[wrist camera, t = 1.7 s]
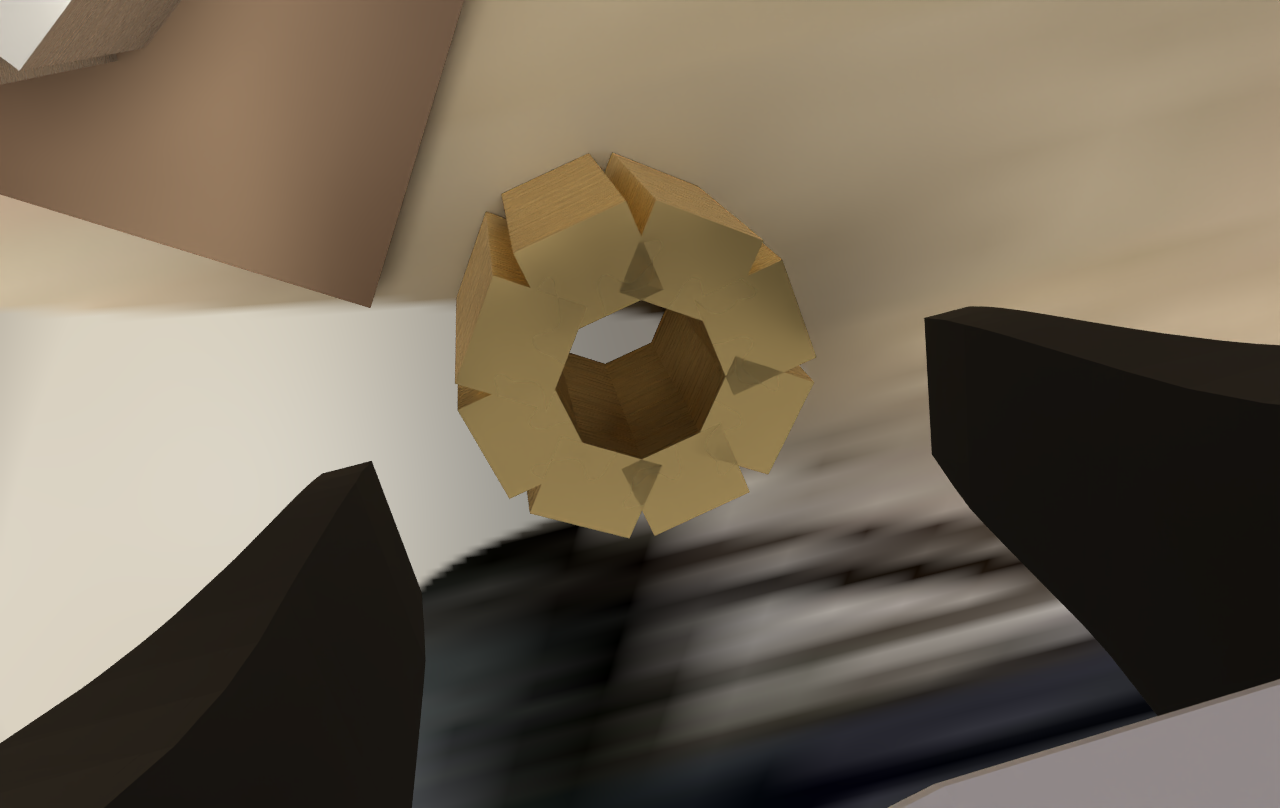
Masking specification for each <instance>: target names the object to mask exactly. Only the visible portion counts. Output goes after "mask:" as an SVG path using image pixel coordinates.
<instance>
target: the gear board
mask: <svg viewBox="0 0 1280 808" xmlns="http://www.w3.org/2000/svg"><path fill="white" fill-rule="evenodd" d="M463 2H464V0H181V1H180V3H179V4H178V5H177V6H176V8H175V9H174V10H173V12H172V13H171V14H170V16H169V17H168V18H167V19H166V21H165V22H164V23H163V25H162V26H161V27H160V29H159V30H158V31H157V32H156V34H155V35H154V36H153V38H152V39H151V40H150V42H149V43H148V44H147V46H146V47H145V48H143V49H137V50H132V51H126V52H121V53H116V56H117V60H118V61H114V62H109V63H104V64H99V65H94V66H89V67H84V68H79V69H75V70H70V71H65V72H60V73H55V74H50V75H45V76H40V77H35V78H30V79H25V80H20V81H16V82H11V83H6V84H1V85H0V194H1V195H4V196H8V197H11V198H14V199H17V200H21V201H24V202H27V203H30V204H34V205H37V206H40V207H43V208H47V209H50V210H53V211H56V212H60V213H63V214H66V215H69V216H73V217H76V218H79V219H82V220H86V221H89V222H92V223H95V224H99V225H102V226H105V227H108V228H112V229H115V230H118V231H121V232H125V233H128V234H131V235H134V236H138V237H141V238H144V239H147V240H151V241H154V242H157V243H160V244H164V245H167V246H170V247H173V248H177V249H180V250H183V251H186V252H190V253H193V254H196V255H199V256H203V257H206V258H209V259H212V260H216V261H219V262H222V263H225V264H229V265H232V266H235V267H238V268H242V269H245V270H248V271H251V272H255V273H258V274H261V275H264V276H268V277H271V278H274V279H277V280H281V281H284V282H287V283H290V284H294V285H297V286H300V287H304V288H307V289H310V290H313V291H317V292H320V293H323V294H326V295H330V296H333V297H336V298H339V299H343V300H346V301H349V302H352V303H356V304H359V305H362V306H365V307H369V308H371V304H372V301H373V298H374V295H375V291H376V288H377V285H378V281H379V278H380V275H381V272H382V268H383V265H384V262H385V258H386V255H387V252H388V249H389V245H390V242H391V239H392V235H393V232H394V229H395V226H396V222H397V219H398V216H399V212H400V209H401V206H402V203H403V199H404V196H405V193H406V189H407V186H408V183H409V180H410V176H411V173H412V170H413V166H414V163H415V160H416V157H417V153H418V150H419V147H420V143H421V140H422V137H423V134H424V130H425V127H426V124H427V120H428V117H429V114H430V111H431V107H432V104H433V101H434V97H435V94H436V91H437V88H438V84H439V81H440V78H441V74H442V71H443V68H444V65H445V61H446V58H447V55H448V51H449V48H450V45H451V42H452V38H453V35H454V32H455V28H456V25H457V22H458V19H459V15H460V12H461V9H462V5H463Z"/></svg>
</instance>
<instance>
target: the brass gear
mask: <svg viewBox="0 0 1280 808" xmlns="http://www.w3.org/2000/svg"><path fill="white" fill-rule="evenodd" d="M502 199H503V204H504V209H505V214H506V218H503V217H500V216H497V215H494V214H492V213H489V212H486V213H485V215H484V218H483V221H482V224H481V227H480V230H479V233H478V236H477V239H476V242H475V245H474V248H473V251H472V254H471V257H470V260H469V263H468V266H467V269H466V272H465V275H464V278H463V281H462V284H461V287H460V289H459V292H458V295H457V299H456V361H455V384H458V412H459V413H460V415H461V417H462V418H463V420H464V422H465V423H466V425H467V427H468V429H469V430H470V432H471V434H472V435H473V437H474V439H475V441H476V442H477V444H478V446H479V447H480V449H481V451H482V452H483V454H484V456H485V458H486V459H487V461H488V463H489V465H490V466H491V468H492V470H493V471H494V473H495V475H496V476H497V478H498V480H499V482H500V483H501V485H502V487H503V488H504V490H505V492H506V494H507V495H508V497H509V498H512V497H514V496H517V495H519V494H521V493H523V492H525V491H527V495H528V502H529V510H530V514H534V515H539V516H542V517H546V518H550V519H554V520H558V521H562V522H566V523H570V524H574V525H578V526H582V527H586V528H590V529H594V530H598V531H602V532H606V533H610V534H614V535H618V536H622V537H626V538H630V536H631V534H632V531H633V529H634V527H635V525H636V523H637V520H638V518H639V516H640V514H641V511H643V513H644V515H645V517H646V519H647V521H648V523H649V525H650V527H651V529H652V531H653V533H654V535H657V534H660V533H662V532H664V531H666V530H668V529H670V528H673V527H675V526H677V525H679V524H681V523H684V522H686V521H688V520H690V519H692V518H694V517H697V516H699V515H701V514H703V513H705V512H707V511H710V510H712V509H714V508H716V507H718V506H721V505H723V504H725V503H727V502H729V501H731V500H734V499H736V498H738V497H740V496H742V495H744V494H747V493H749V489H748V487H747V484H746V482H745V480H744V477H743V475H742V473H741V470H740V468H739V466H741V467H744V468H748V469H751V470H755V471H758V472H762V473H765V474H769V472H770V470H771V468H772V466H773V464H774V462H775V460H776V458H777V456H778V454H779V452H780V450H781V448H782V446H783V444H784V442H785V440H786V438H787V436H788V434H789V432H790V430H791V428H792V426H793V424H794V422H795V420H796V418H797V416H798V414H799V412H800V410H801V408H802V406H803V404H804V402H805V400H806V398H807V396H808V394H809V392H810V390H811V388H812V386H813V384H814V382H813V380H812V379H811V378H810V377H809V376H808V375H807V374H806V373H805V372H804V370H803V369H802V368H801V367H800V366H799V365H801V364H803V363H805V362H807V361H809V360H811V359H814V358H816V355H815V352H814V349H813V346H812V343H811V341H810V338H809V335H808V332H807V329H806V326H805V323H804V321H803V318H802V315H801V312H800V309H799V306H798V304H797V301H796V298H795V295H794V292H793V289H792V286H791V284H790V281H789V278H788V275H787V272H786V269H785V266H784V264H783V261H782V259H781V258H780V257H778V256H777V255H776V254H775V253H774V252H772V251H771V250H770V249H769V248H768V247H766V246H765V245H764V244H763V240H762V239H761V238H760V237H759V236H757V235H756V234H755V233H754V232H753V231H751V230H750V229H749V228H748V227H747V226H745V225H744V224H743V223H742V222H740V221H739V220H738V219H737V218H736V217H734V216H733V215H732V214H731V213H730V212H728V211H727V210H726V209H725V208H724V207H722V206H721V205H720V204H719V203H718V202H716V201H715V200H714V199H713V198H711V197H710V196H709V195H708V194H707V193H705V192H704V191H703V190H702V189H701V188H699V187H698V186H696V185H694V184H691V183H688V182H686V181H683V180H681V179H678V178H676V177H673V176H671V175H668V174H666V173H663V172H661V171H658V170H655V169H653V168H650V167H648V166H645V165H643V164H640V163H638V162H635V161H633V160H630V159H627V158H625V157H622V156H620V155H617V154H615V153H612V155H611V157H610V160H609V163H608V165H607V168H606V171H605V173H604V172H603V171H602V170H601V168H600V167H599V166H598V164H597V163H596V162H595V161H594V159H593V158H592V157H591V155H590V154H589V153H588V154H586V155H584V156H582V157H580V158H578V159H575V160H573V161H571V162H569V163H567V164H565V165H563V166H560V167H558V168H556V169H554V170H552V171H550V172H548V173H545V174H543V175H541V176H539V177H537V178H535V179H533V180H530V181H528V182H526V183H524V184H522V185H520V186H518V187H515V188H513V189H511V190H509V191H507V192H505V193H503V194H502ZM640 300H643V301H646V302H649V303H652V304H655V305H658V306H661V307H663V308H666V309H665V311H664V314H663V316H662V318H661V321H660V323H659V325H658V328H657V330H656V333H655V335H654V337H653V340H652V342H651V343H649V344H647V345H645V346H643V347H641V348H639V349H636V350H634V351H632V352H630V353H628V354H626V355H623V356H622V357H619V358H617V359H615V360H613V361H610V362H608V363H606V364H604V363H601V362H597V361H594V360H591V359H588V358H585V357H581V356H578V355H575V354H572V353H569V352H570V350H571V347H572V344H573V342H574V340H575V337H576V334H577V332H578V329H580V328H582V327H584V326H586V325H588V324H590V323H593V322H595V321H597V320H599V319H601V318H603V317H606V316H608V315H610V314H612V313H614V312H616V311H618V310H621V309H623V308H625V307H627V306H629V305H631V304H634V303H636V302H638V301H640Z"/></svg>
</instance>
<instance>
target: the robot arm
mask: <svg viewBox="0 0 1280 808" xmlns="http://www.w3.org/2000/svg"><path fill="white" fill-rule="evenodd" d="M924 320H925V338H926V356H927V374H928V392H929V410H930V428H931V446H932V455H933V457H934V458H935V459H936V461H937V462H938V464H939V465H940V467H941V468H942V470H943V471H944V473H945V474H946V476H947V477H948V479H949V480H950V482H951V483H952V485H953V486H954V487H955V489H956V490H957V491H958V493H959V494H960V495H961V497H962V498H963V499H964V501H965V502H966V504H967V505H968V506H969V508H970V509H971V510H972V511H973V512H974V513H975V514H976V515H977V517H978V518H979V519H980V520H981V521H982V522H983V523H984V524H985V525H986V526H987V527H988V528H989V529H990V530H991V531H992V532H993V533H994V534H995V535H996V536H997V538H998V539H999V540H1000V541H1001V542H1002V543H1003V544H1004V545H1005V546H1006V547H1007V548H1008V549H1009V550H1010V551H1011V552H1012V553H1013V554H1014V555H1015V556H1016V557H1017V558H1018V559H1019V560H1020V561H1021V562H1022V563H1023V564H1024V565H1025V566H1026V567H1027V568H1028V569H1029V570H1030V571H1031V572H1032V573H1033V574H1034V575H1035V576H1036V577H1037V579H1038V580H1039V581H1040V582H1041V583H1042V584H1043V585H1044V586H1045V587H1046V588H1047V589H1048V590H1049V591H1050V592H1051V593H1052V594H1053V595H1054V596H1055V597H1056V598H1057V599H1058V600H1059V601H1060V602H1061V603H1062V604H1063V605H1064V606H1065V607H1066V608H1067V609H1068V610H1069V611H1070V612H1071V613H1072V614H1073V615H1074V616H1075V617H1076V618H1077V619H1078V620H1079V621H1080V622H1081V623H1082V624H1083V625H1084V626H1085V628H1086V629H1087V630H1088V631H1089V632H1090V633H1091V634H1092V635H1093V637H1094V638H1095V639H1096V640H1097V641H1098V642H1099V643H1100V644H1101V645H1102V647H1103V648H1104V649H1105V650H1106V651H1107V652H1108V653H1109V655H1110V656H1111V657H1112V658H1113V660H1114V661H1115V662H1116V663H1117V665H1118V666H1119V667H1120V668H1121V670H1122V671H1123V672H1124V674H1125V675H1126V676H1127V677H1128V679H1129V680H1130V681H1131V683H1132V684H1133V685H1134V686H1135V688H1136V689H1137V690H1138V691H1139V693H1140V694H1141V695H1142V697H1143V698H1144V699H1145V700H1146V702H1147V703H1148V704H1149V705H1150V707H1151V708H1152V709H1153V711H1154V712H1155V713H1156V714H1157V717H1154V718H1151V719H1147V720H1144V721H1141V722H1137V723H1134V724H1131V725H1127V726H1124V727H1121V728H1118V729H1114V730H1111V731H1108V732H1104V733H1101V734H1098V735H1095V736H1091V737H1088V738H1085V739H1081V740H1078V741H1075V742H1072V743H1068V744H1065V745H1062V746H1058V747H1055V748H1052V749H1048V750H1045V751H1042V752H1039V753H1035V754H1032V755H1029V756H1025V757H1022V758H1019V759H1016V760H1012V761H1009V762H1006V763H1002V764H999V765H996V766H993V767H989V768H986V769H983V770H979V771H976V772H973V773H970V774H966V775H963V776H960V777H956V778H953V779H950V780H946V781H943V782H940V783H937V784H934V785H932V786H930V787H928V788H926V789H924V790H922V791H920V792H918V793H916V794H914V795H912V796H910V797H908V798H906V799H904V800H902V801H900V802H898V803H896V804H894V805H892V806H890V807H888V808H1280V345H1265V344H1251V343H1240V342H1230V341H1220V340H1212V339H1204V338H1196V337H1188V336H1180V335H1172V334H1164V333H1157V332H1150V331H1143V330H1137V329H1130V328H1124V327H1118V326H1111V325H1105V324H1099V323H1093V322H1087V321H1082V320H1076V319H1070V318H1064V317H1058V316H1052V315H1046V314H1040V313H1033V312H1027V311H1020V310H1012V309H1005V308H995V307H974V306H970V307H965V308H961V309H957V310H954V311H950V312H946V313H942V314H938V315H934V316H930V317H926V318H924ZM424 672H425V639H424V620H423V605H422V592H421V590H420V587H419V584H418V582H417V579H416V577H415V574H414V572H413V569H412V566H411V563H410V561H409V558H408V556H407V553H406V550H405V548H404V545H403V542H402V540H401V537H400V534H399V532H398V530H397V527H396V524H395V522H394V519H393V516H392V513H391V511H390V508H389V505H388V503H387V500H386V498H385V495H384V493H383V490H382V487H381V484H380V482H379V479H378V476H377V474H376V471H375V469H374V466H373V463H372V461H369V462H365V463H362V464H358V465H354V466H350V467H346V468H342V469H339V470H335V471H331V472H327V473H323V474H321V475H320V476H319V477H317V478H316V479H315V480H314V481H312V482H311V483H310V484H309V485H308V486H307V487H306V488H305V489H303V491H301V493H299V494H298V495H297V496H296V497H295V498H294V499H293V501H292V502H290V503H289V504H288V505H287V507H285V509H283V510H282V512H281V513H280V514H279V515H278V516H277V517H276V518H275V519H274V520H273V521H272V522H271V523H270V524H269V525H268V526H267V527H266V528H265V529H264V530H263V531H262V532H261V533H260V534H259V535H258V536H257V537H256V538H255V539H254V540H253V541H252V542H251V543H250V544H249V545H248V546H247V547H246V548H245V549H244V550H243V551H242V552H241V553H240V554H239V555H238V556H237V557H236V558H235V559H234V560H233V561H232V562H231V563H230V564H229V565H228V566H227V567H226V568H225V569H224V570H223V571H222V572H220V573H219V574H218V575H217V576H216V577H215V578H214V579H213V580H212V581H211V582H210V583H209V584H208V585H206V586H205V587H204V588H203V589H202V590H201V591H200V592H199V593H198V594H197V595H196V596H195V597H194V598H193V599H191V600H190V601H189V602H188V603H187V604H186V605H185V606H184V607H183V608H182V609H181V610H180V611H178V612H177V613H176V614H175V615H174V616H173V617H172V618H171V619H170V620H168V621H167V622H166V623H165V624H164V625H162V626H161V627H160V628H159V629H158V630H157V631H155V632H154V633H153V634H152V635H151V636H149V637H148V638H147V639H146V640H144V641H143V642H142V643H141V644H140V645H138V646H137V647H136V648H134V649H133V650H132V651H131V652H129V653H128V654H127V655H125V656H124V657H123V658H121V659H120V660H119V661H118V662H116V663H115V664H114V665H112V666H111V667H110V668H109V669H107V670H106V671H105V672H103V673H102V674H101V675H100V676H98V677H97V678H95V679H94V680H93V681H91V682H90V683H89V684H87V685H86V686H84V687H83V688H82V689H80V690H79V691H77V692H76V693H74V694H73V695H71V696H70V697H69V698H67V699H66V700H64V701H63V702H61V703H60V704H58V705H56V706H55V707H53V708H52V709H51V710H49V711H48V712H46V713H45V714H43V715H42V716H40V717H39V718H37V719H36V720H34V721H33V722H31V723H30V724H29V725H27V726H25V727H24V728H22V729H21V730H19V731H18V732H16V733H15V734H13V735H12V736H10V737H9V738H7V739H6V740H5V741H3V742H1V743H0V808H412V801H413V790H414V780H415V770H416V759H417V749H418V739H419V728H420V718H421V707H422V696H423V684H424Z"/></svg>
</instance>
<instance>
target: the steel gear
mask: <svg viewBox="0 0 1280 808" xmlns="http://www.w3.org/2000/svg"><path fill="white" fill-rule="evenodd" d="M180 1H181V0H0V85H1V84H6V83H11V82H16V81H20V80H25V79H30V78H35V77H40V76H45V75H50V74H55V73H60V72H65V71H70V70H75V69H79V68H84V67H89V66H94V65H99V64H104V63H109V62H114V61H118V60H117V56H116V53H121V52H126V51H132V50H137V49H143V48H145V47H146V46H147V44H148V43H149V42H150V40H151V39H152V38H153V36H154V35H155V34H156V32H157V31H158V30H159V29H160V27H161V26H162V25H163V23H164V22H165V21H166V19H167V18H168V17H169V16H170V14H171V13H172V12H173V10H174V9H175V8H176V6H177V5H178V4H179V3H180Z"/></svg>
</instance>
